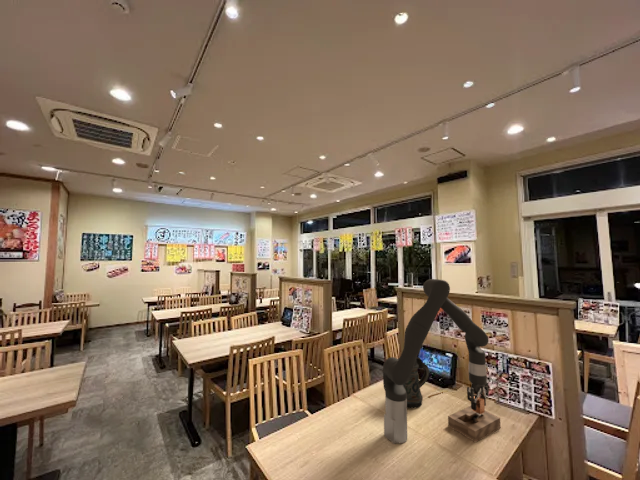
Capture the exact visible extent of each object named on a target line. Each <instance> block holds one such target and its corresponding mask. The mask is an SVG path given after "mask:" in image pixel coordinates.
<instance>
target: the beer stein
mask: <svg viewBox="0 0 640 480" xmlns="http://www.w3.org/2000/svg"><path fill="white" fill-rule="evenodd" d="M397 359H398V360H399V358H397ZM418 369H421V370H422V369H423V370H424V372H423V375H422V377H421V378H420V379H419V372H418ZM429 376H430V370H429V366H428V365H427V364H426V363H425V362H423V359H421V357H418V356H417V358H416V361H415V363H414V366H413V369H412V372H411V375H410V377H409V379H408V381H407V382H406V383H405V384H403V386H404V388H405V390H406V392H407V409H417V408H420V407H421V406H422V404H423V394H422V391H421V388H422V387H423V386H424V385H425V383H426V382H427V381H428V379H429Z"/></svg>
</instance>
